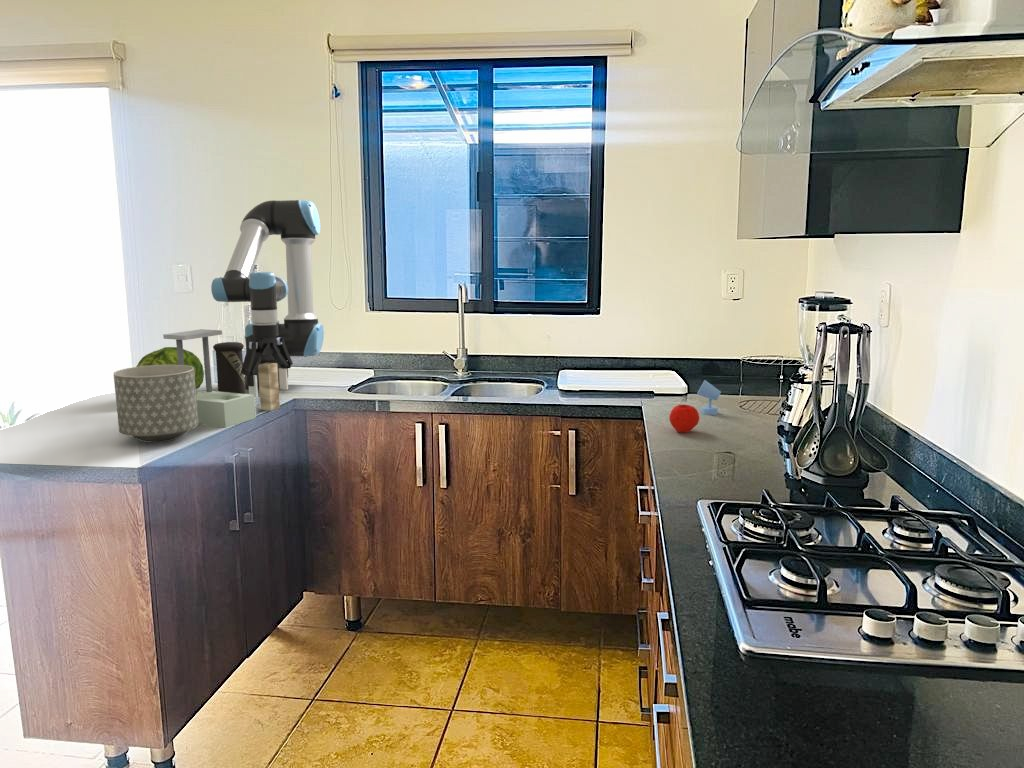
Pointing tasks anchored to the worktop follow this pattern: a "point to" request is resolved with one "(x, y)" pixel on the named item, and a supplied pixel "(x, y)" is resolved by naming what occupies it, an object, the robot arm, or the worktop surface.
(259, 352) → the robot arm
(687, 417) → the apple
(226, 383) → the container
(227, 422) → the socket station
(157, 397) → the planter
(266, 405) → the peg
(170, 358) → the lettuce
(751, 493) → the worktop surface
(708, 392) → the spotlight
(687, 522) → the worktop surface
